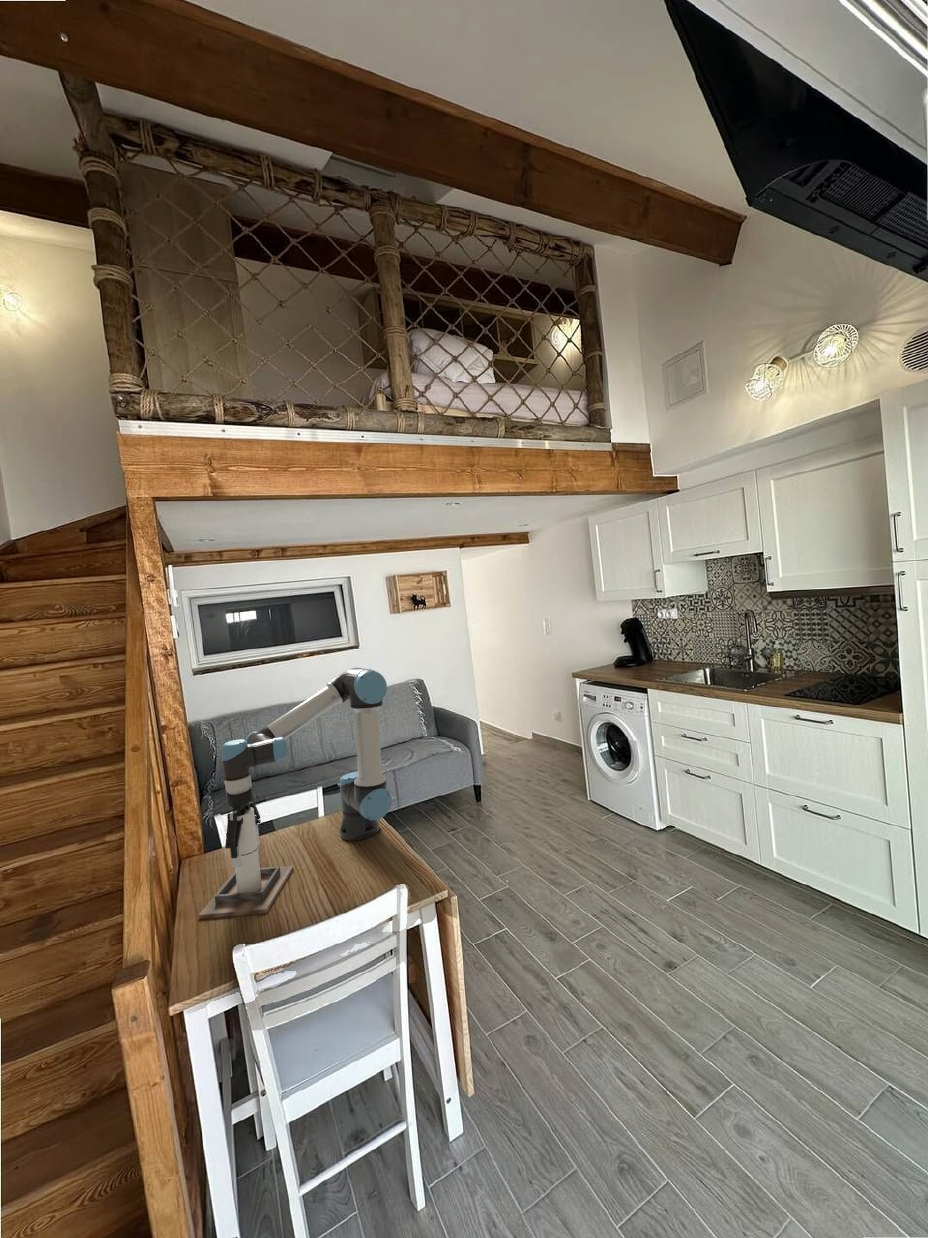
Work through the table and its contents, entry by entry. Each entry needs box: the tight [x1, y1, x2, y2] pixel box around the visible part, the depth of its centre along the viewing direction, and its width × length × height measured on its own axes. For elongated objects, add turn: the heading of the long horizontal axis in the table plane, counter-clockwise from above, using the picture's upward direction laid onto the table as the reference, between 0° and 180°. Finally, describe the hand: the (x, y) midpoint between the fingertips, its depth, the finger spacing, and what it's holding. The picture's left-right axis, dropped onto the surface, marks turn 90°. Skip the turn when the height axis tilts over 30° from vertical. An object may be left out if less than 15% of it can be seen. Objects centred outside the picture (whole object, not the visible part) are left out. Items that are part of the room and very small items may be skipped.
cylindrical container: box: [230, 807, 262, 893], centre depth 160 cm, size 7×7×25 cm
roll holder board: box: [198, 865, 294, 920], centre depth 160 cm, size 20×24×4 cm
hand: (246, 855), depth 160 cm, fingers open, 13 cm apart
